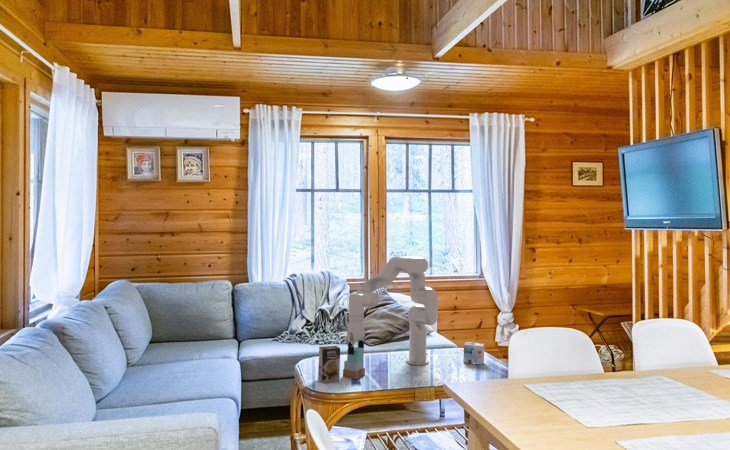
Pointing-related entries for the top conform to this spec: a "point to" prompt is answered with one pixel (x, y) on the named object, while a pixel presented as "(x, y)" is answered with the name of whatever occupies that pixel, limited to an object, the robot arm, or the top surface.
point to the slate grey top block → (353, 365)
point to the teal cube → (356, 355)
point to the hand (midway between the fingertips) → (356, 352)
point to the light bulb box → (473, 353)
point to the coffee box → (329, 364)
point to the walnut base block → (354, 373)
